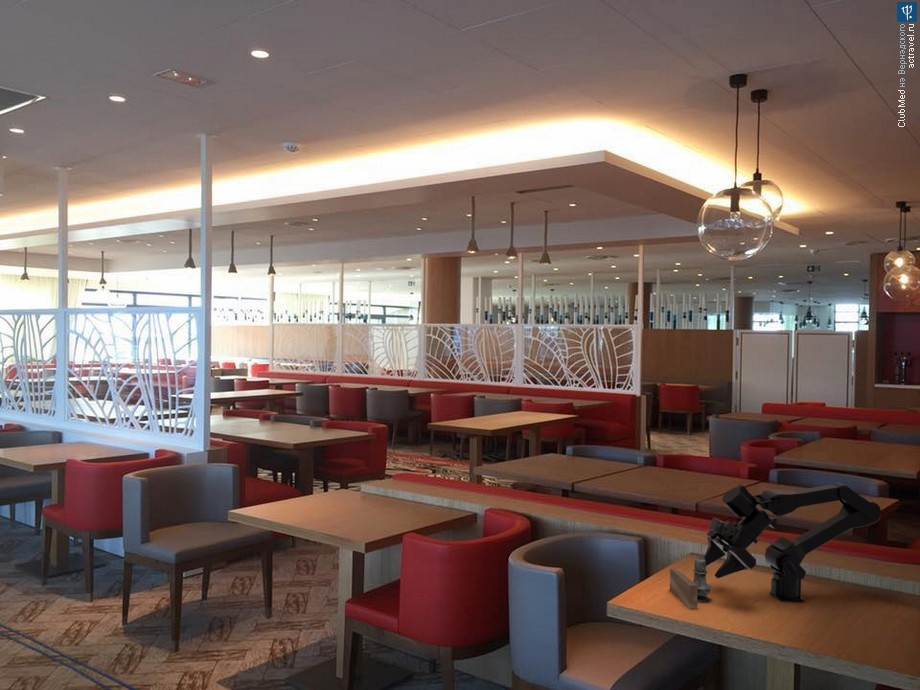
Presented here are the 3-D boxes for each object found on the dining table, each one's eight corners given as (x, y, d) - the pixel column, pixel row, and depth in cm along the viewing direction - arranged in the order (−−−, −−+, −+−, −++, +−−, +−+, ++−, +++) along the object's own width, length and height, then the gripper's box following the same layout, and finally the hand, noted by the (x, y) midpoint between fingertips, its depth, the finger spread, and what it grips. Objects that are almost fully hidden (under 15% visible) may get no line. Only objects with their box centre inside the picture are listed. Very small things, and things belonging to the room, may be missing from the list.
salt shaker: (706, 604, 201) (707, 558, 201) (684, 599, 205) (685, 554, 205) (714, 598, 206) (715, 553, 206) (693, 593, 210) (694, 549, 209)
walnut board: (676, 590, 212) (677, 568, 212) (697, 608, 198) (697, 585, 198) (669, 590, 212) (670, 568, 212) (689, 609, 198) (689, 585, 198)
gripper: (714, 500, 215) (674, 540, 214) (744, 516, 196) (702, 561, 196) (741, 527, 216) (702, 568, 215) (774, 546, 197) (732, 591, 196)
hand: (708, 571), depth 205 cm, fingers open, 9 cm apart
